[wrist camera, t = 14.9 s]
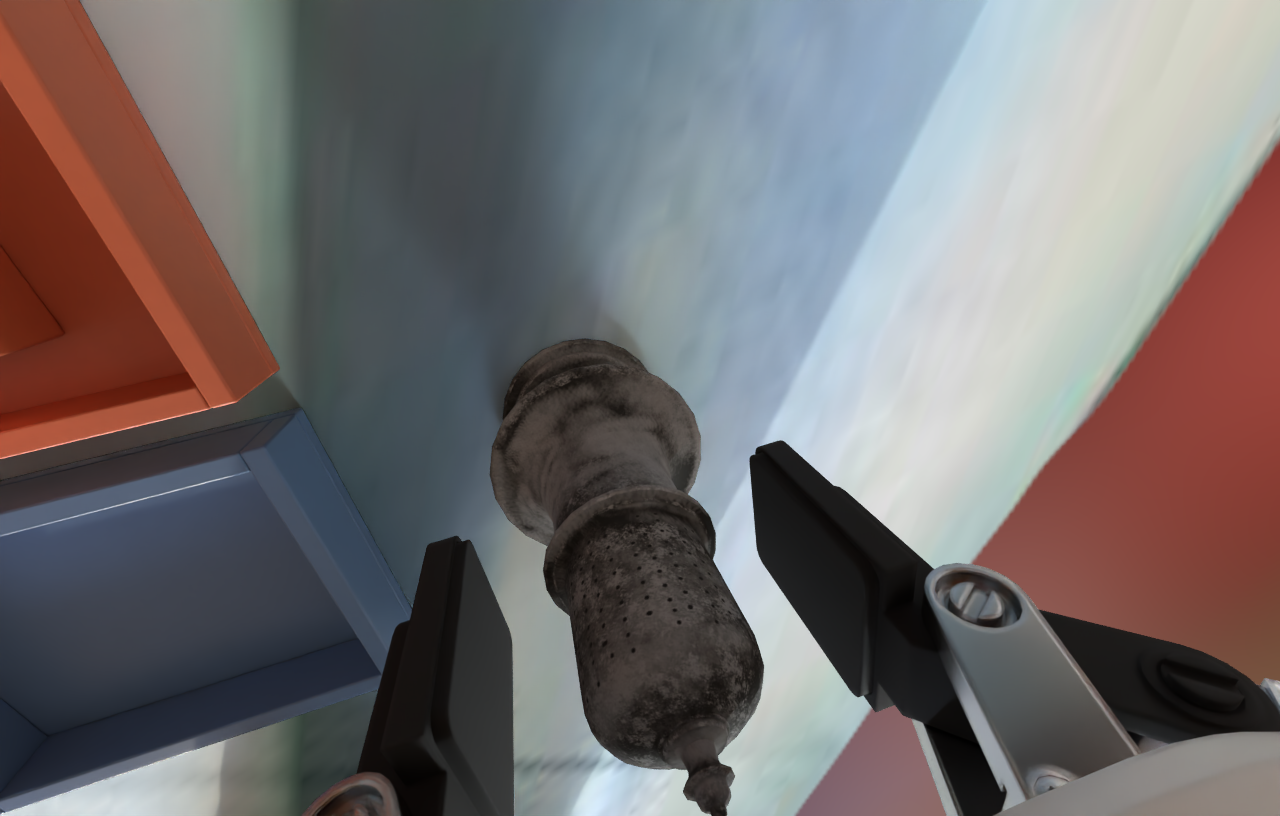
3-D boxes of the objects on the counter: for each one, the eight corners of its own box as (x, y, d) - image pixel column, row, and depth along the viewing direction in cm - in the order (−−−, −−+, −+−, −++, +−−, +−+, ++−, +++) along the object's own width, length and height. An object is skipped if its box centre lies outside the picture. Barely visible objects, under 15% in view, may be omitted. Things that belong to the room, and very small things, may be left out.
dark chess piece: (467, 356, 15) (360, 784, 4) (649, 309, 16) (957, 563, 5) (524, 507, 17) (550, 1008, 7) (677, 460, 18) (918, 839, 8)
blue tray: (302, 406, 14) (263, 446, 12) (419, 621, 18) (406, 680, 16) (-201, 528, 12) (-357, 602, 10) (53, 737, 16) (-18, 821, 14)
